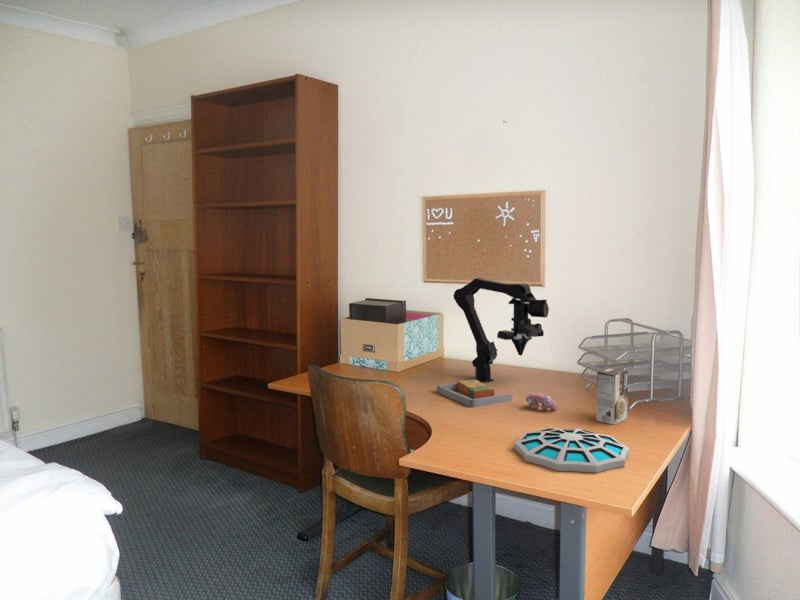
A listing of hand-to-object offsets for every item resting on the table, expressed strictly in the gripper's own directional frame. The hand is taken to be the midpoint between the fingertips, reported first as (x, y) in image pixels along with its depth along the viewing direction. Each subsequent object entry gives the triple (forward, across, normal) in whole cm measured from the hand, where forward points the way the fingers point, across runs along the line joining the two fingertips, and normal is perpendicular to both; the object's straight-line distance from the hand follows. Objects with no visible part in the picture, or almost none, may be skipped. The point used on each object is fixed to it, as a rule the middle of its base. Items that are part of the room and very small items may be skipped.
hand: (520, 355), depth 241 cm
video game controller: (+12, -15, -30) cm, 36 cm away
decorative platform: (+13, -35, -66) cm, 75 cm away
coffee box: (+12, -3, -50) cm, 52 cm away
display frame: (+12, -25, -5) cm, 28 cm away
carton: (+13, -24, -3) cm, 27 cm away
